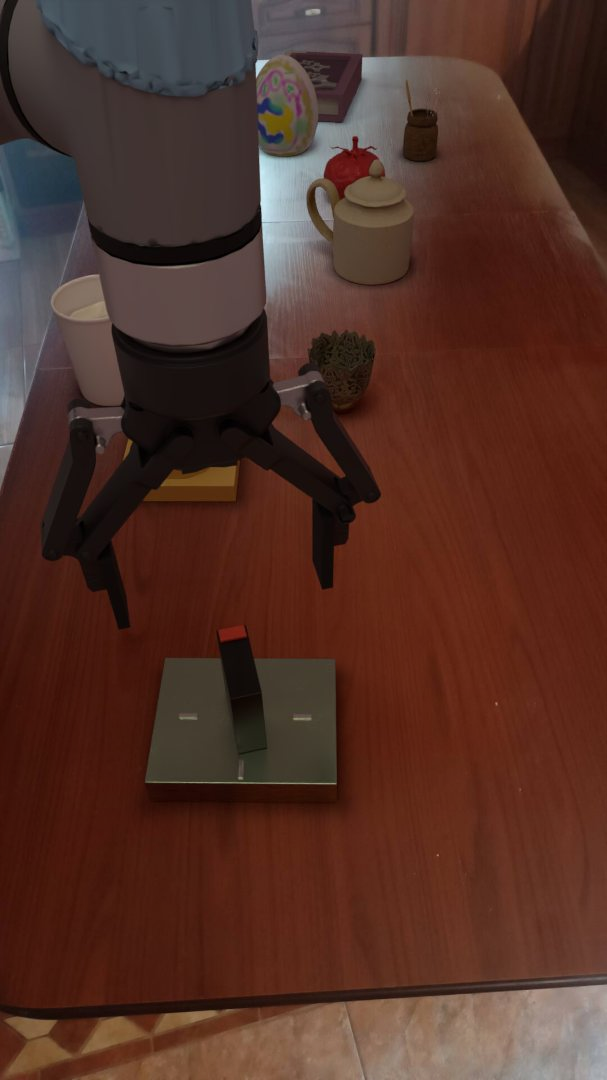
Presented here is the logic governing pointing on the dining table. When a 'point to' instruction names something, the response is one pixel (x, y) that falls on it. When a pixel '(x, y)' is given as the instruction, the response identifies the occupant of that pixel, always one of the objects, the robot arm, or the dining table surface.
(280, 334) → the dining table surface
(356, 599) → the dining table surface
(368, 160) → the red tomato
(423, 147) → the utensil holder
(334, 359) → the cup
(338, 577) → the dining table surface
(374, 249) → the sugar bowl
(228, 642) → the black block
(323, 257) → the dining table surface
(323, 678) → the control panel
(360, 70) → the book
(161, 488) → the button block
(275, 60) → the decorative egg
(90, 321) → the white paper cup
